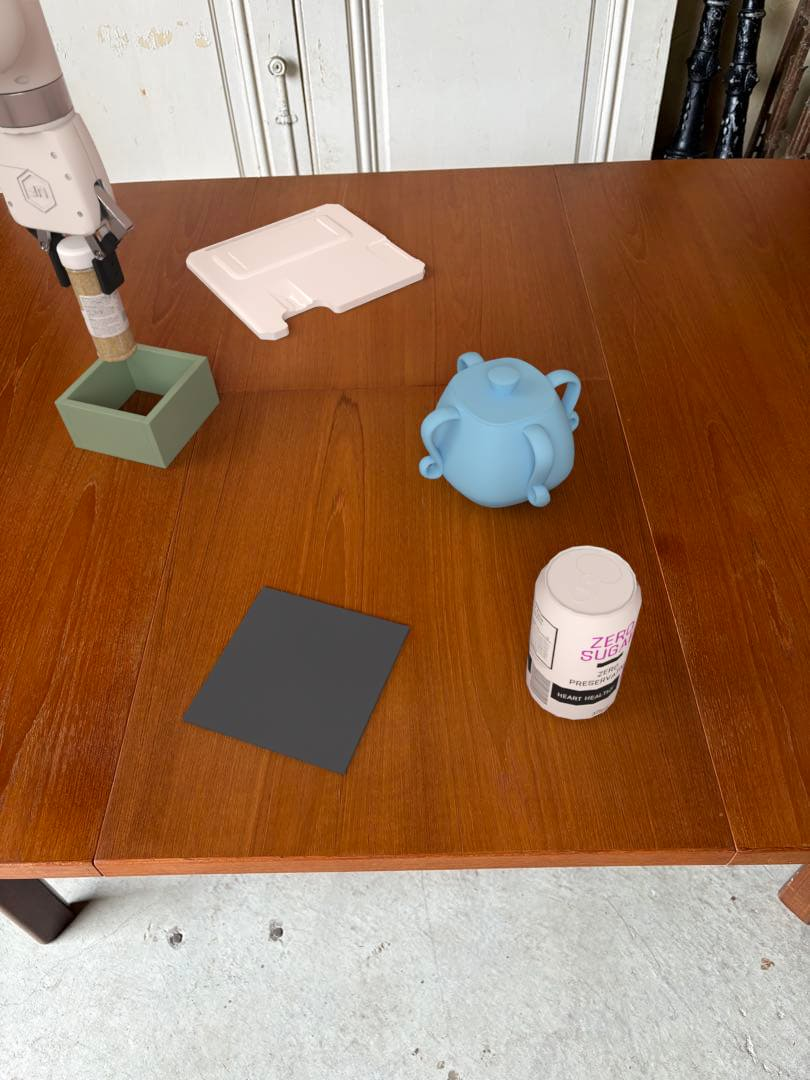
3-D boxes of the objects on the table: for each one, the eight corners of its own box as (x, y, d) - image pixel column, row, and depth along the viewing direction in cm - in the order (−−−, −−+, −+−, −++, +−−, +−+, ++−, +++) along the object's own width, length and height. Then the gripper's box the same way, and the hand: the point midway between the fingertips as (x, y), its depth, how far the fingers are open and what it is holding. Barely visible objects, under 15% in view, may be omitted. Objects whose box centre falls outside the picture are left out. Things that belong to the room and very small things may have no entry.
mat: (182, 720, 73) (181, 718, 73) (263, 588, 83) (263, 586, 83) (344, 775, 69) (344, 773, 69) (410, 629, 79) (409, 626, 79)
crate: (75, 447, 100) (54, 402, 94) (134, 384, 108) (117, 339, 102) (166, 469, 96) (148, 423, 91) (220, 402, 104) (207, 356, 99)
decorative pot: (402, 493, 91) (394, 398, 81) (465, 409, 100) (465, 314, 90) (538, 541, 86) (548, 444, 75) (591, 447, 94) (607, 350, 84)
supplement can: (552, 632, 78) (567, 525, 66) (632, 673, 74) (662, 568, 63) (508, 693, 73) (516, 591, 62) (591, 740, 70) (615, 640, 59)
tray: (431, 275, 121) (430, 266, 120) (265, 344, 112) (263, 334, 111) (335, 207, 137) (334, 198, 136) (183, 263, 128) (180, 254, 127)
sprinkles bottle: (104, 342, 95) (62, 231, 85) (142, 340, 95) (105, 230, 85) (93, 365, 92) (49, 253, 82) (133, 363, 92) (93, 251, 82)
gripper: (-75, 109, 73) (7, 291, 87) (79, 126, 69) (141, 315, 82) (-19, 80, 78) (51, 257, 92) (129, 94, 74) (180, 278, 87)
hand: (93, 283), depth 87 cm, fingers closed on sprinkles bottle, 4 cm apart
